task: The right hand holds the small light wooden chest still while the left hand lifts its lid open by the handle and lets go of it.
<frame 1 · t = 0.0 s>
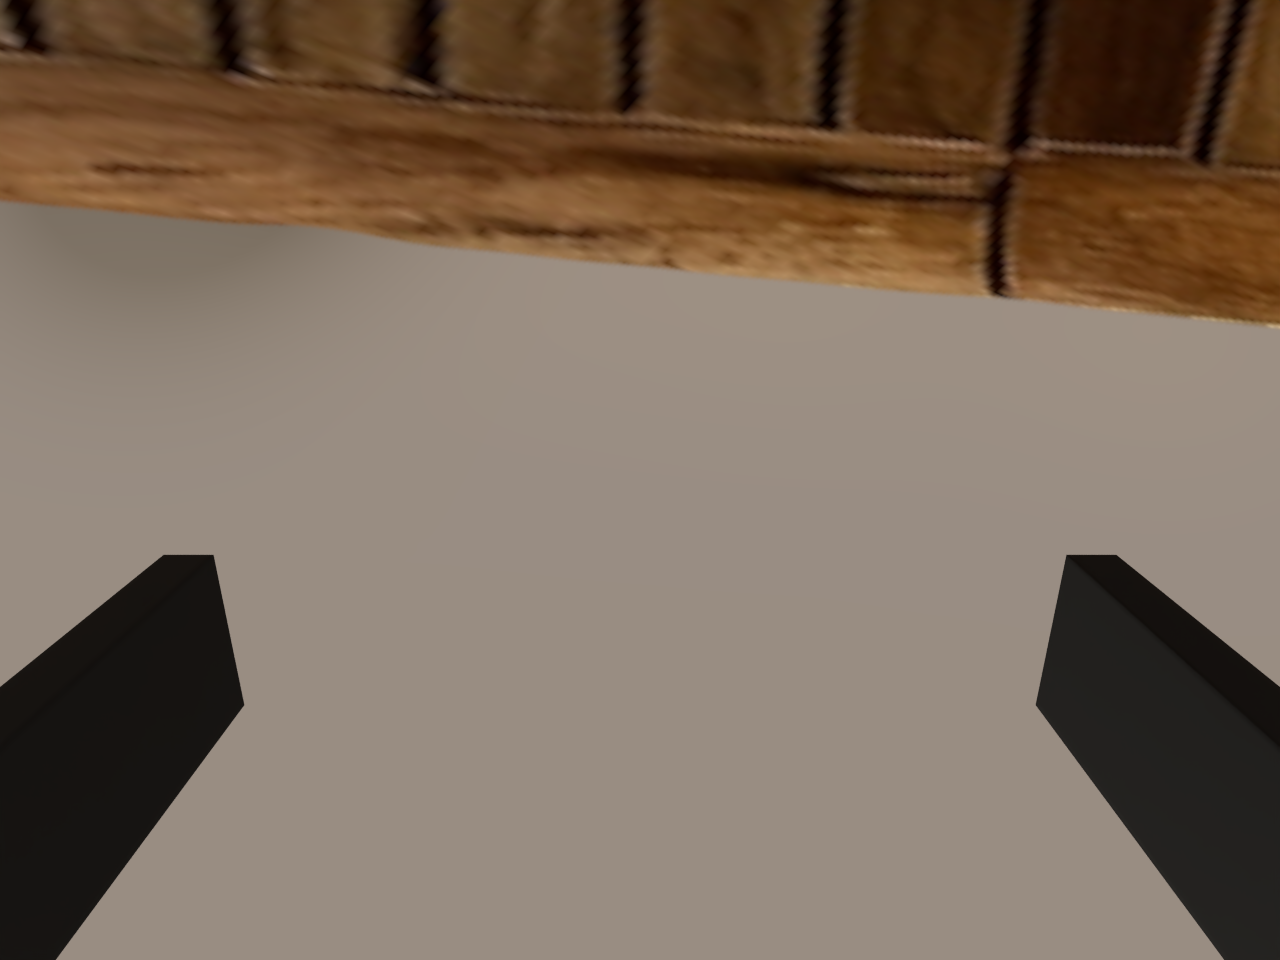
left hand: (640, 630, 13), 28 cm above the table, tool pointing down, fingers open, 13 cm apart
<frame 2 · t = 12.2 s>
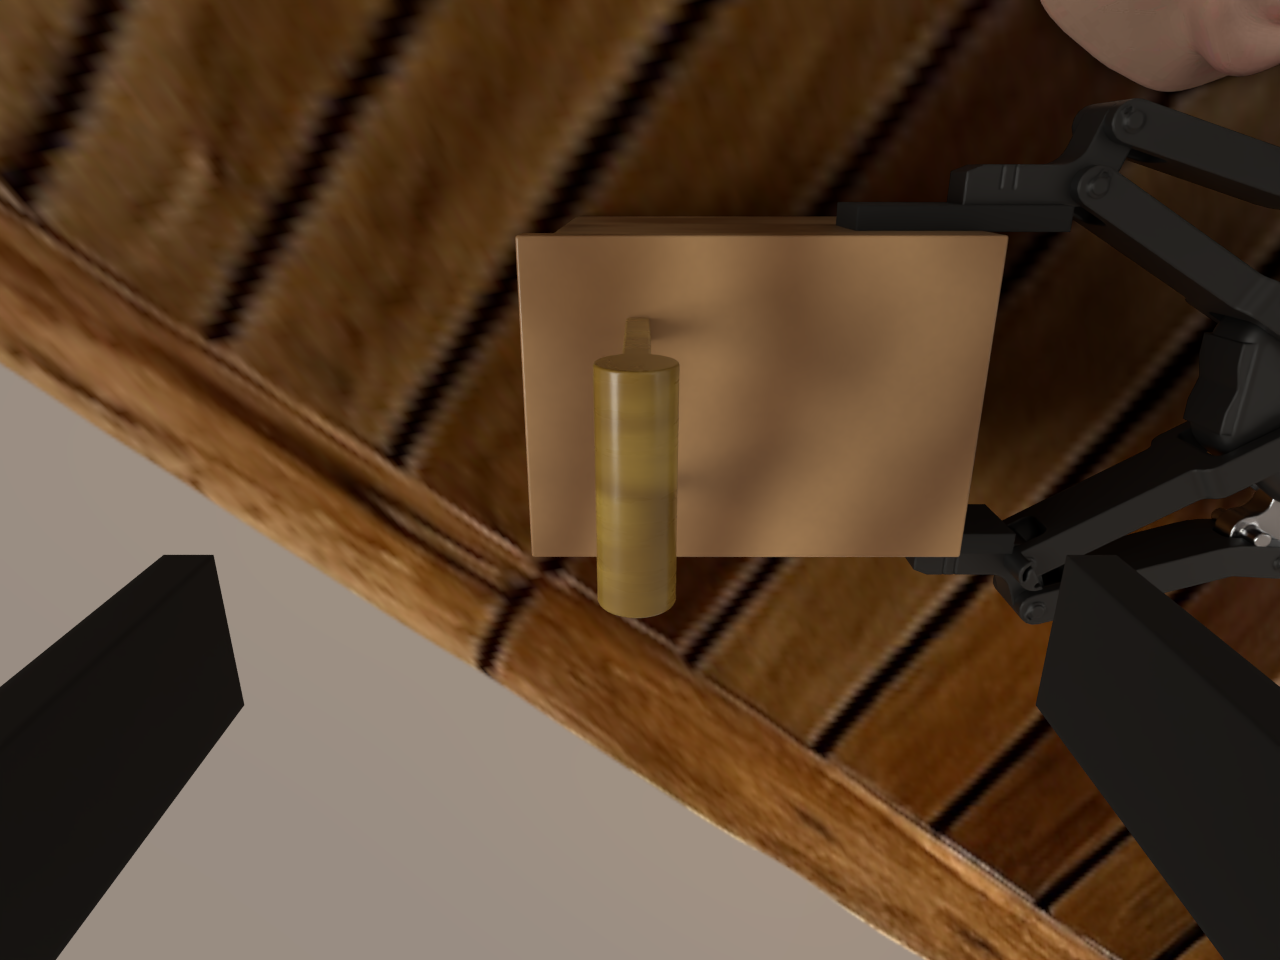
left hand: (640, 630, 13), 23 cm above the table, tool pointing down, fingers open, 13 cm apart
lid: (769, 442, 22), point 13 cm above the table, hinge at 0.0°
chest: (734, 342, 34), on the table, touching right hand
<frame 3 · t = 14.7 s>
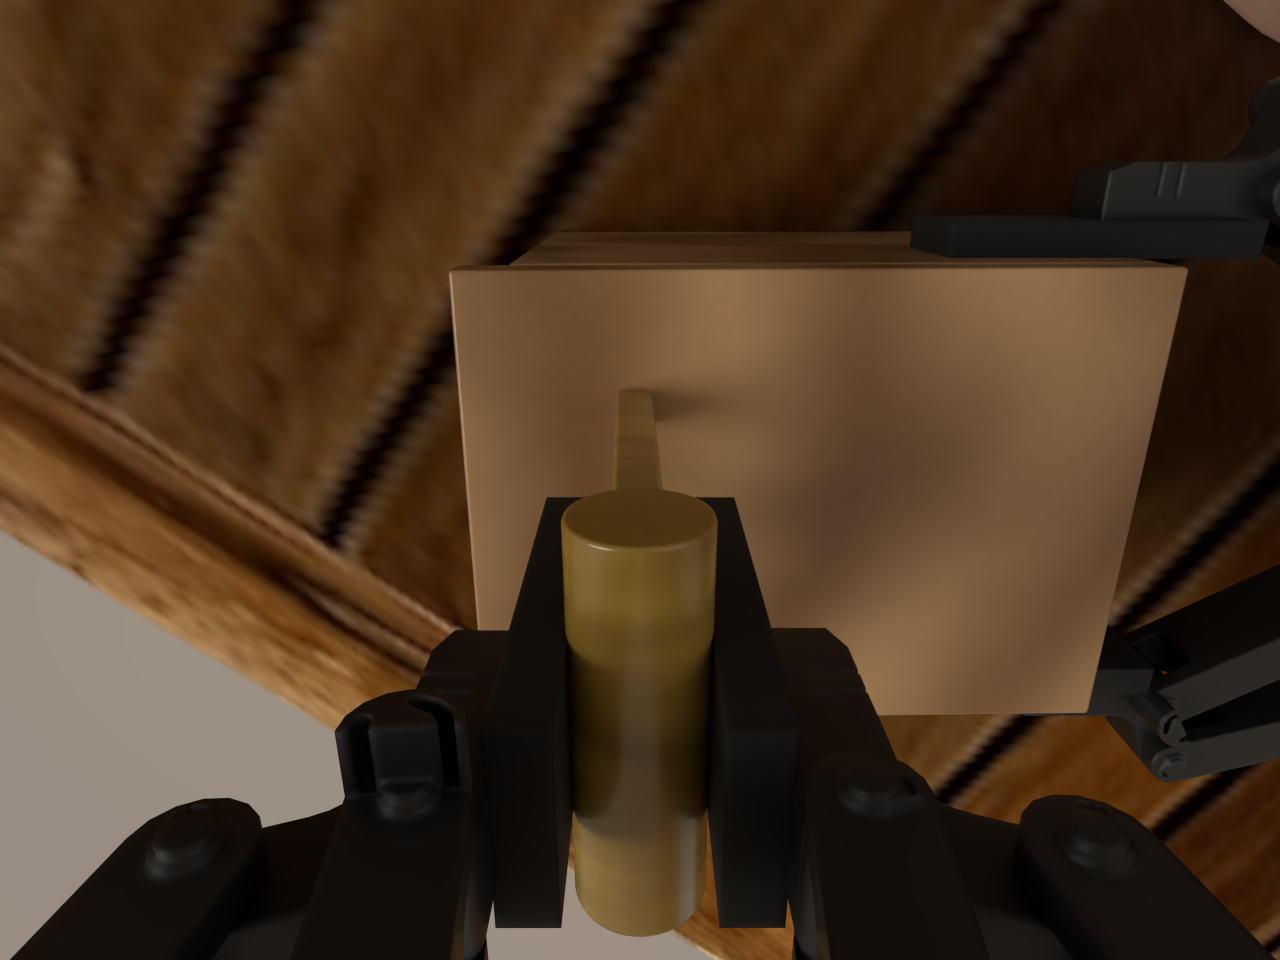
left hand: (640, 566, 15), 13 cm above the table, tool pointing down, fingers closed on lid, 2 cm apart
lid: (843, 594, 14), point 14 cm above the table, hinge at 1.1°, touching left hand
chest: (760, 393, 27), on the table, touching right hand
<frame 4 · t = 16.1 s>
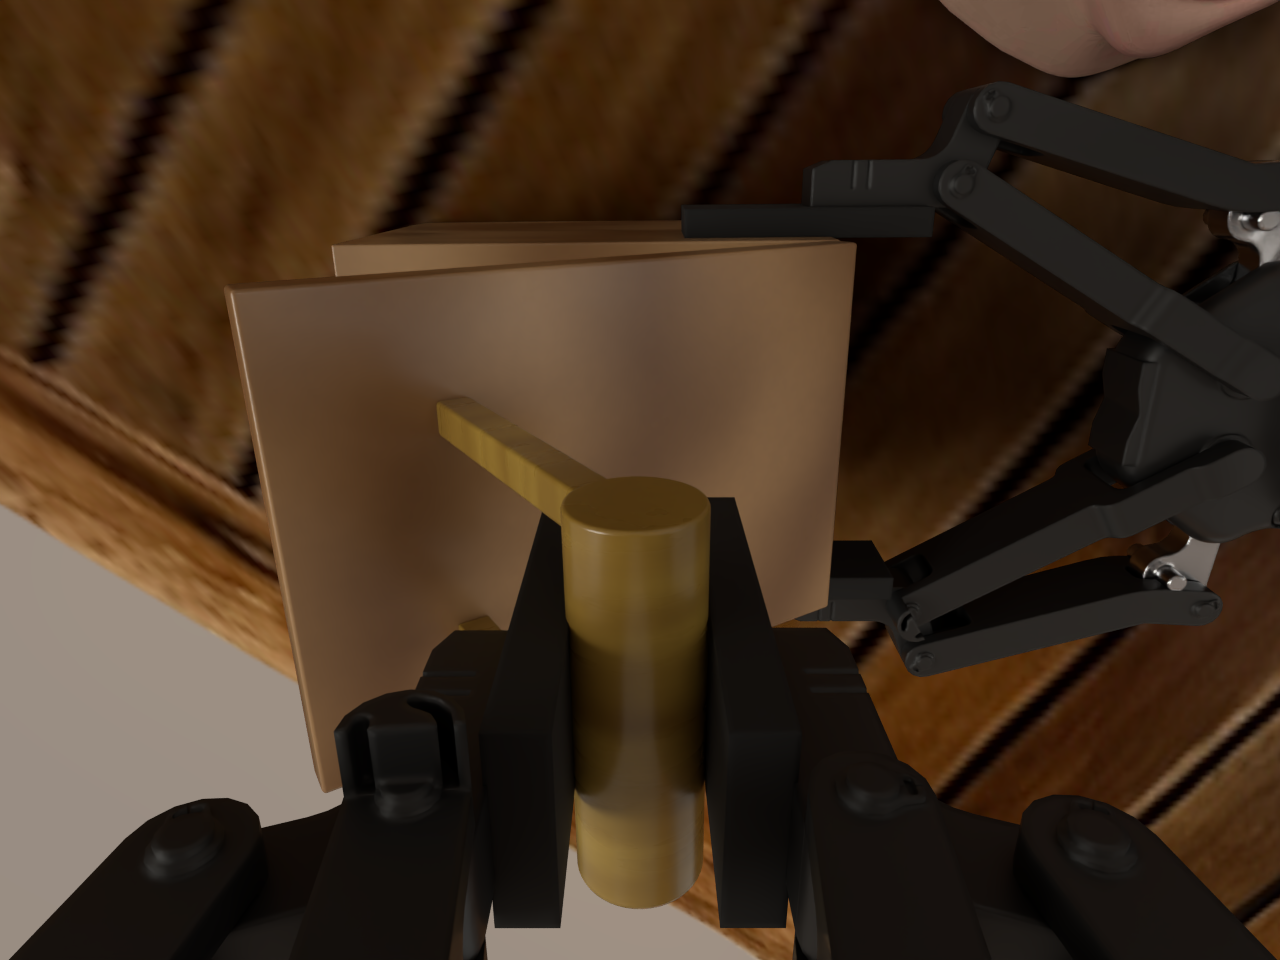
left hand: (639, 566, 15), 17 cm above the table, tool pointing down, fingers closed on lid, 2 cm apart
right hand: (681, 409, 25), fingers closed on chest, 10 cm apart
lid: (704, 548, 16), point 17 cm above the table, hinge at 32.7°, touching left hand
chest: (607, 359, 31), on the table, touching right hand
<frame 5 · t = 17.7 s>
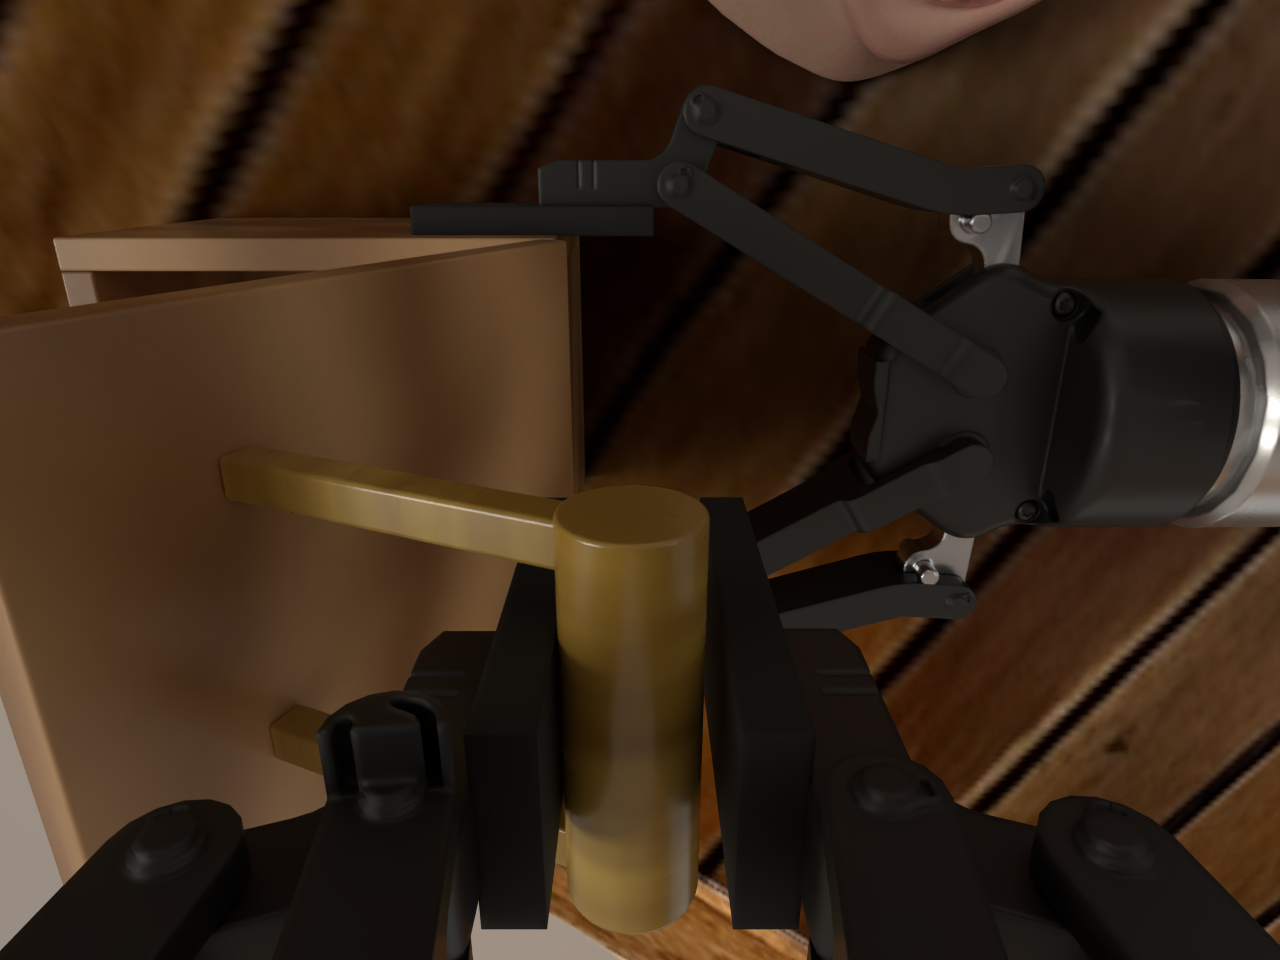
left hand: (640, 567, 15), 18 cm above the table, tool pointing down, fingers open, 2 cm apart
right hand: (439, 403, 25), fingers closed on chest, 10 cm apart
lid: (551, 559, 15), point 18 cm above the table, hinge at 65.7°
chest: (413, 355, 31), on the table, touching right hand
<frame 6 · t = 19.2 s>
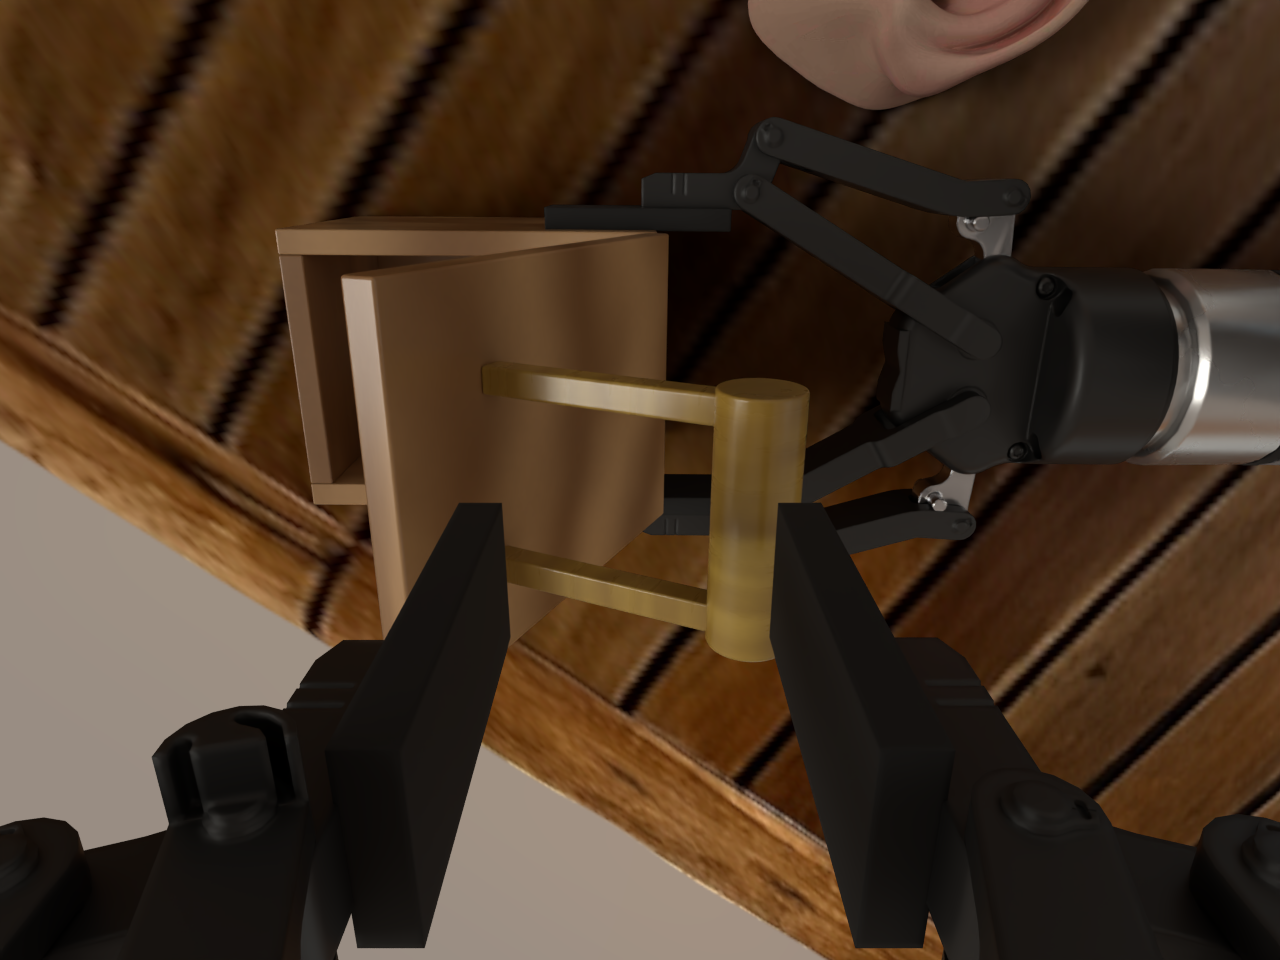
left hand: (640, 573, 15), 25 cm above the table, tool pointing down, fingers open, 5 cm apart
right hand: (552, 363, 32), fingers closed on chest, 10 cm apart
lid: (677, 452, 22), point 18 cm above the table, hinge at 64.6°
chest: (512, 330, 38), on the table, touching right hand
when the right hand's fingers open (7 cm above the table, at t = 21.5 s): chest stays where it is, on the table.
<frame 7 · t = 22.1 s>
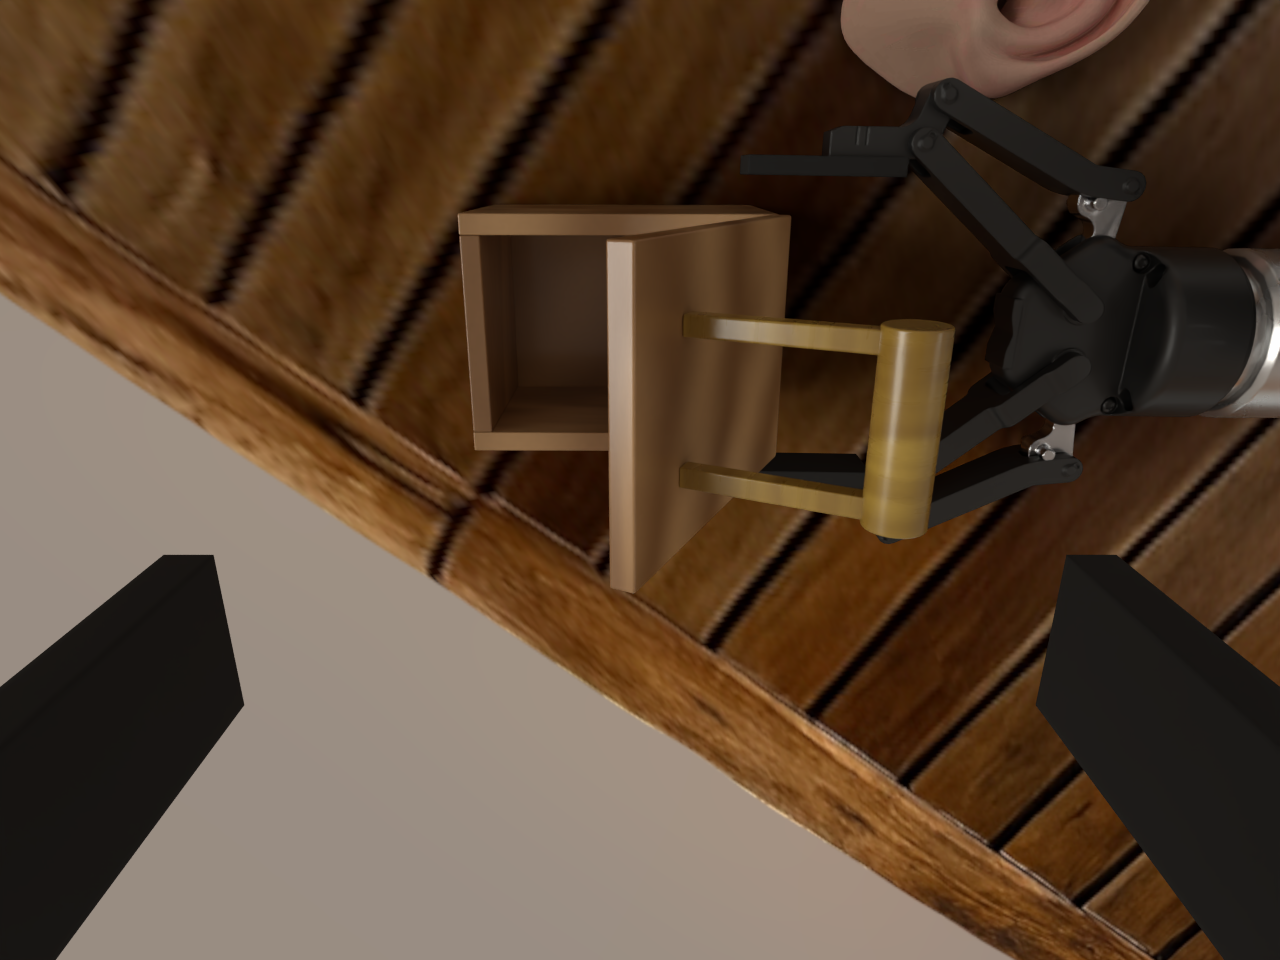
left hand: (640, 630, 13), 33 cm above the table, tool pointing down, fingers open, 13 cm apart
right hand: (733, 326, 37), fingers open, 13 cm apart
lid: (820, 388, 27), point 18 cm above the table, hinge at 64.0°
chest: (623, 305, 43), on the table
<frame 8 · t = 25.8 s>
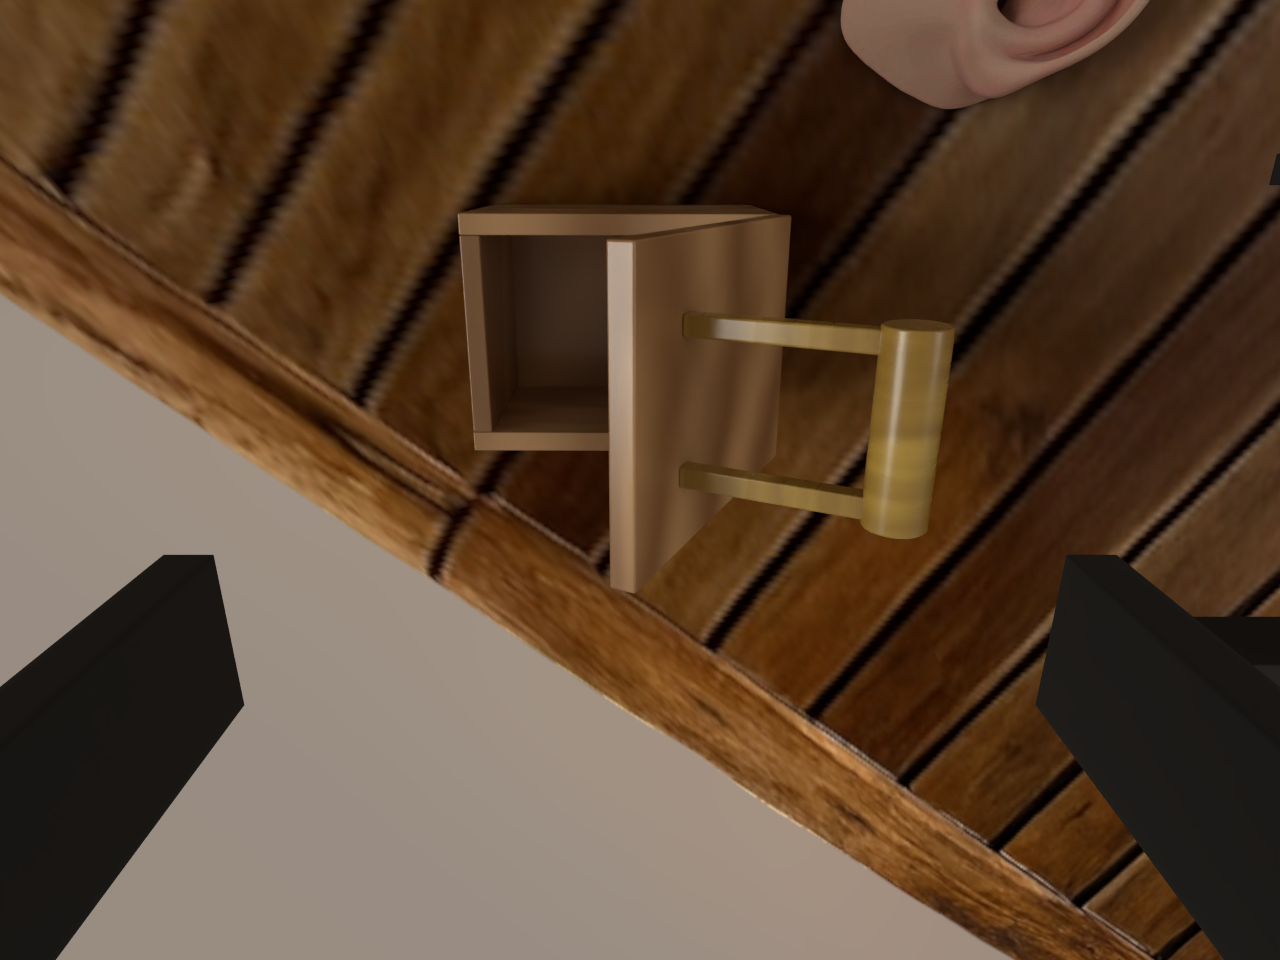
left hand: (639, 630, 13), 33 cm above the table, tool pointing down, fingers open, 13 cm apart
lid: (820, 388, 27), point 18 cm above the table, hinge at 64.0°
chest: (623, 305, 43), on the table
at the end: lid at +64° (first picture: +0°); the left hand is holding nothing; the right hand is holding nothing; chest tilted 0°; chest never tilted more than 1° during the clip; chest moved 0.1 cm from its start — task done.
